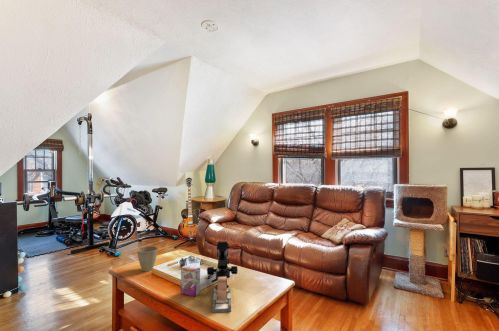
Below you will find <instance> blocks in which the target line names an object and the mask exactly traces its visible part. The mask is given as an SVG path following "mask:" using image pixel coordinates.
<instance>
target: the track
mask: <svg viewBox="0 0 499 331" xmlns="http://www.w3.org/2000/svg"><path fill="white" fill-rule="evenodd" d="M227 289H228V291H227V299H228V303H216V300H217V295H218V291H217V289H216V288H214V289H213V298H212V313H225V312H227V313H228V312H232V297H231V296H232V293H231V292H232V291H231V288H227Z"/></svg>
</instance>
